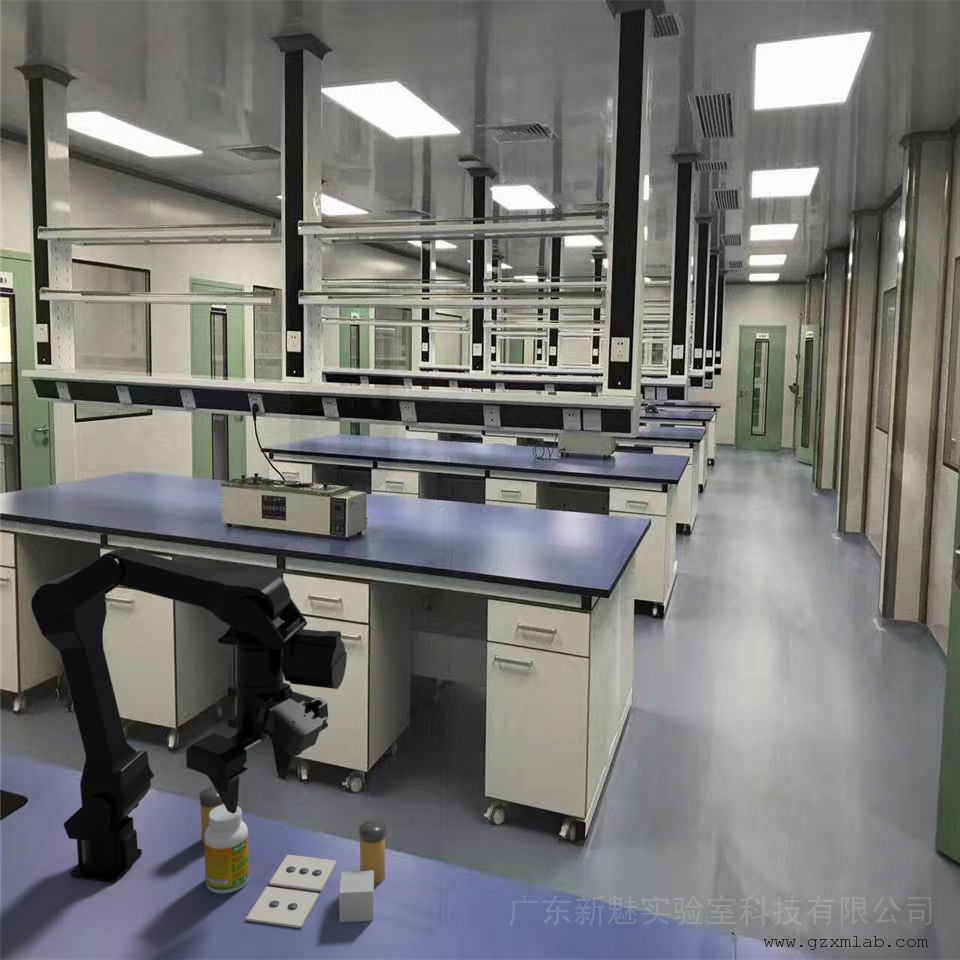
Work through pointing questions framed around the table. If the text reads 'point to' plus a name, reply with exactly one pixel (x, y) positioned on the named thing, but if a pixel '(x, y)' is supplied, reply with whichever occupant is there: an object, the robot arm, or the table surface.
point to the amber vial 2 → (373, 848)
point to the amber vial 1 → (208, 807)
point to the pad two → (283, 907)
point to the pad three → (303, 873)
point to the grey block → (356, 896)
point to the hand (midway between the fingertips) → (258, 794)
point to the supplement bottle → (226, 851)
